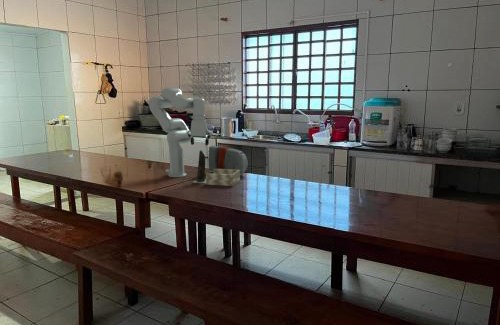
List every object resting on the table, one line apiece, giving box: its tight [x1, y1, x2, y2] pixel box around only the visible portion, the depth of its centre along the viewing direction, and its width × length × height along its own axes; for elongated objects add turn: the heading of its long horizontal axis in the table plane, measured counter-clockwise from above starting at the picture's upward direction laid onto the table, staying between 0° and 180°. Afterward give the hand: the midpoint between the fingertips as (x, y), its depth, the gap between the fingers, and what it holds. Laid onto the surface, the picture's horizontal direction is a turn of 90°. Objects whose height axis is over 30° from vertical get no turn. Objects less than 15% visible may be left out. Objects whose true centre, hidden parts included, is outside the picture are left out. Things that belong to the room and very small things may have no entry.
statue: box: [194, 149, 207, 182], centre depth 234 cm, size 7×7×20 cm
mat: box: [192, 178, 206, 184], centre depth 235 cm, size 9×9×1 cm
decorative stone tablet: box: [207, 145, 249, 176], centre depth 252 cm, size 19×6×30 cm
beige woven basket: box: [205, 169, 241, 187], centre depth 231 cm, size 18×15×7 cm
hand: (199, 144), depth 231 cm, fingers open, 9 cm apart
